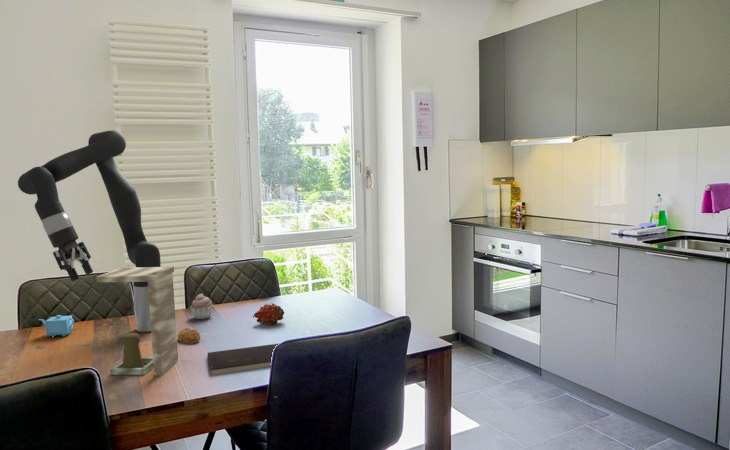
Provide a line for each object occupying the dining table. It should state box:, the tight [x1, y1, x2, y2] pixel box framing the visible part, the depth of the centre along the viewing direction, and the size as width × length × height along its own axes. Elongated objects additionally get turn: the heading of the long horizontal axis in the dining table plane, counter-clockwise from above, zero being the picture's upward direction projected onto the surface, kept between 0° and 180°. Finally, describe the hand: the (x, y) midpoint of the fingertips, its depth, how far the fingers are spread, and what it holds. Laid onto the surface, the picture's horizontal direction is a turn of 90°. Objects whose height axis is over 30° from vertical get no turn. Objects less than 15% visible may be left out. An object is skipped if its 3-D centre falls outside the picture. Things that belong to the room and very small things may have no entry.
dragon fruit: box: [252, 303, 285, 326], centre depth 210 cm, size 8×8×12 cm
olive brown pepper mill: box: [121, 332, 145, 368], centre depth 166 cm, size 6×6×11 cm
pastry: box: [177, 328, 201, 345], centre depth 192 cm, size 9×7×4 cm
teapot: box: [38, 314, 75, 337], centre depth 202 cm, size 12×6×8 cm, turn 102°
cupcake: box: [189, 293, 214, 320], centre depth 221 cm, size 9×9×10 cm
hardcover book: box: [207, 343, 279, 375], centre depth 171 cm, size 16×23×2 cm
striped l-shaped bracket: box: [96, 266, 179, 377], centre depth 165 cm, size 17×14×30 cm
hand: (83, 276), depth 172 cm, fingers open, 8 cm apart
